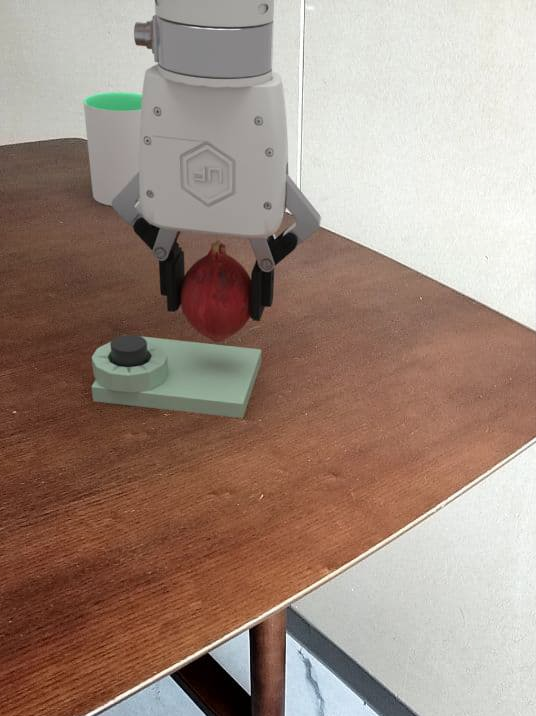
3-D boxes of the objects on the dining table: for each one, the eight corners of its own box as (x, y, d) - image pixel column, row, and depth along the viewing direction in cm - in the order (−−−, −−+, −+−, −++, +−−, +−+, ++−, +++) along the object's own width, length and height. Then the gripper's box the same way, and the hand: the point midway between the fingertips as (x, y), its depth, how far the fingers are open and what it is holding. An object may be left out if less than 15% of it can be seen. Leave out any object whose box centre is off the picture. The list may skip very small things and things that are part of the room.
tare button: (107, 367, 67) (105, 349, 66) (117, 350, 69) (116, 332, 68) (142, 371, 67) (141, 353, 66) (151, 354, 69) (150, 336, 68)
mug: (90, 174, 109) (81, 83, 102) (154, 173, 111) (149, 83, 104) (94, 208, 100) (84, 110, 93) (164, 206, 102) (159, 110, 95)
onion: (257, 357, 68) (260, 258, 63) (184, 359, 67) (180, 259, 62) (249, 323, 72) (251, 228, 67) (179, 325, 71) (176, 228, 66)
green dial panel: (87, 403, 68) (82, 369, 66) (120, 348, 75) (117, 316, 73) (242, 421, 67) (242, 387, 65) (261, 363, 74) (262, 331, 72)
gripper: (66, 49, 54) (95, 318, 65) (341, 74, 53) (321, 343, 64) (102, 27, 60) (123, 278, 71) (351, 49, 59) (331, 300, 70)
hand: (217, 306), depth 68 cm, fingers closed on onion, 5 cm apart
